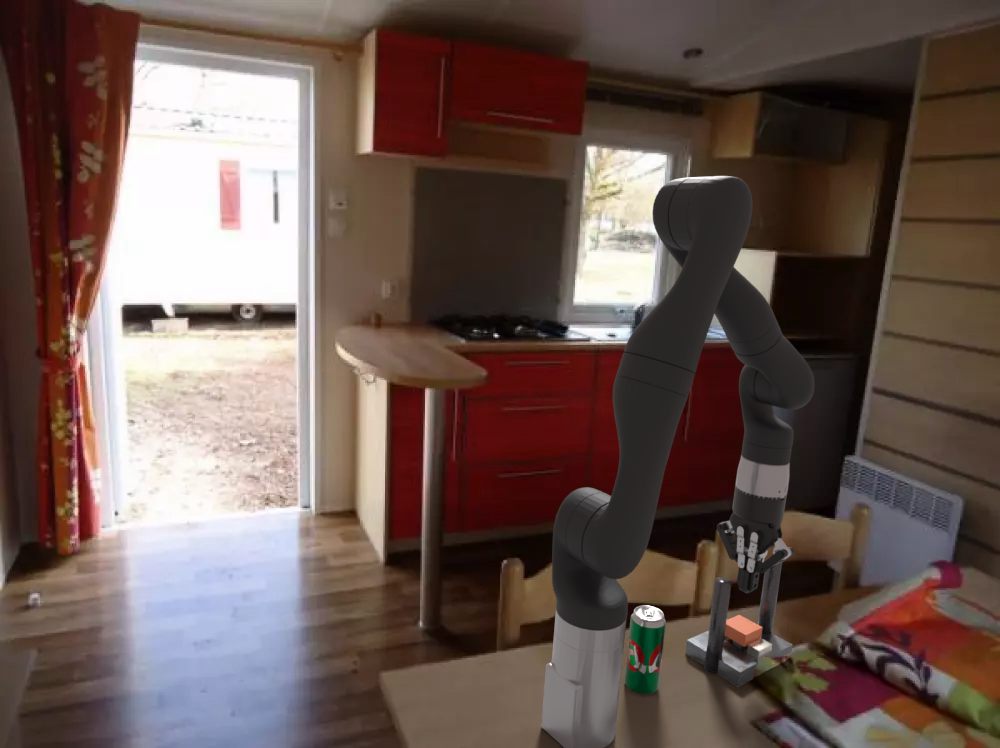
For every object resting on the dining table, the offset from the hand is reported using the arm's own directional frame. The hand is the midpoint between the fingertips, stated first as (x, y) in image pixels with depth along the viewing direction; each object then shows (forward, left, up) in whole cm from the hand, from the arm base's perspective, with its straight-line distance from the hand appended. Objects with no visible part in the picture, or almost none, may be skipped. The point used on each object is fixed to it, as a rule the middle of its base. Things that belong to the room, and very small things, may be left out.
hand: (746, 590), depth 113 cm
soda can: (-19, +3, -12) cm, 23 cm away
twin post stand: (0, 0, -12) cm, 12 cm away
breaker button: (0, 0, -10) cm, 11 cm away
